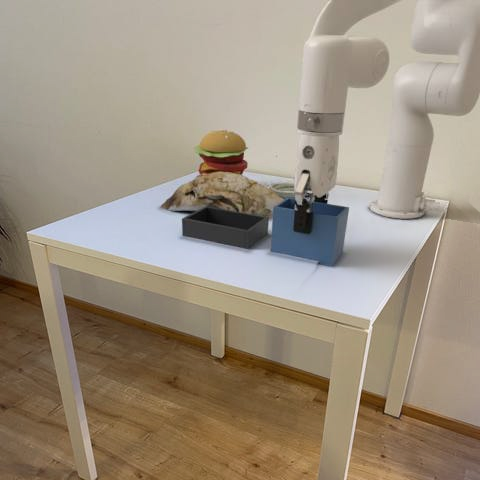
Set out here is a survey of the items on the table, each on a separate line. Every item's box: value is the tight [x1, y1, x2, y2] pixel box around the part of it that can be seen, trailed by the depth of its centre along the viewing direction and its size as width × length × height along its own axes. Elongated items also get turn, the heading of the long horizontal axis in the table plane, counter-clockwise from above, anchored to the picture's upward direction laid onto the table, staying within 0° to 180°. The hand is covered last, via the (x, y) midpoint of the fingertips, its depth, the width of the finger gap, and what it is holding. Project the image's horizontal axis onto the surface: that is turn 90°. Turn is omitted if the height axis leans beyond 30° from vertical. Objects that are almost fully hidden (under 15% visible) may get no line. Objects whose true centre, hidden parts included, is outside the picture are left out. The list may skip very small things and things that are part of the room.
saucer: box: [270, 182, 309, 200], centre depth 123 cm, size 10×10×2 cm
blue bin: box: [270, 198, 350, 267], centre depth 88 cm, size 12×7×9 cm, turn 64°
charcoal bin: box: [181, 206, 270, 250], centre depth 96 cm, size 15×10×4 cm, turn 64°
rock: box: [160, 172, 285, 219], centre depth 110 cm, size 16×10×30 cm
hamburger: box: [193, 129, 249, 175], centre depth 124 cm, size 16×14×15 cm
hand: (309, 225), depth 88 cm, fingers open, 7 cm apart
